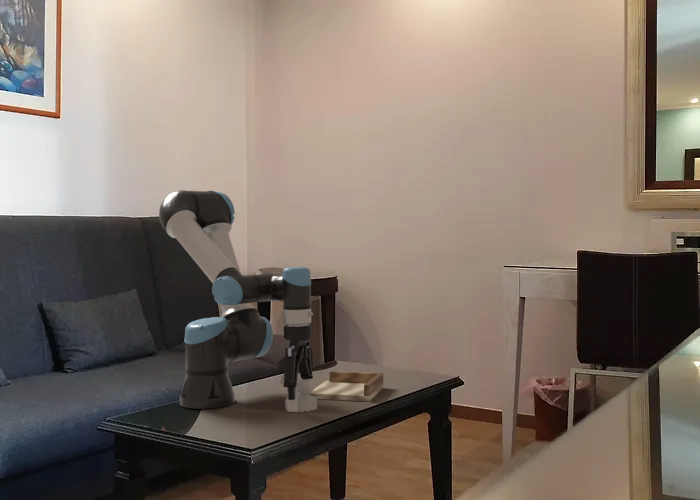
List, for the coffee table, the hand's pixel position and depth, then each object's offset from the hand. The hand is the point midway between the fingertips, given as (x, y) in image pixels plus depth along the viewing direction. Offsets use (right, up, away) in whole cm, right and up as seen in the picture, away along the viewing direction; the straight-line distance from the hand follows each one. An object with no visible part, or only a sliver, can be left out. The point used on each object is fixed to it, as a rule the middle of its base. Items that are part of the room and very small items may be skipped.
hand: (299, 407), depth 204 cm
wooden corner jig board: (+13, 0, +17) cm, 22 cm away
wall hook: (0, 0, 0) cm, 0 cm away
